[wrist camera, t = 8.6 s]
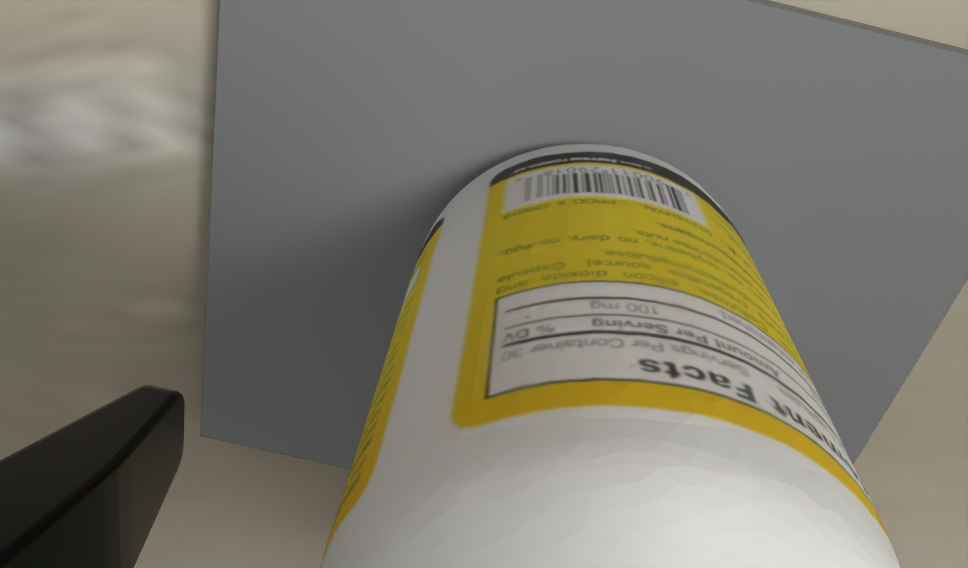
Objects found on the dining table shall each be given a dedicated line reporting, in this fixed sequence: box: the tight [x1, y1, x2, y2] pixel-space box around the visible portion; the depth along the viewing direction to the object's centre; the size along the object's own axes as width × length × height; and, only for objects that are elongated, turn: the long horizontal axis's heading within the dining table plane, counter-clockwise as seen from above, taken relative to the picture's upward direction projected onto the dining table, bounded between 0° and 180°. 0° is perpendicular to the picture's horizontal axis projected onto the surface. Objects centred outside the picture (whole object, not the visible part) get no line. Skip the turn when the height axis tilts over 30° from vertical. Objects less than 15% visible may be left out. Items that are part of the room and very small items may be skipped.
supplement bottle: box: [321, 144, 901, 568], centre depth 9 cm, size 5×5×10 cm
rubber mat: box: [200, 0, 968, 469], centre depth 13 cm, size 12×10×1 cm
